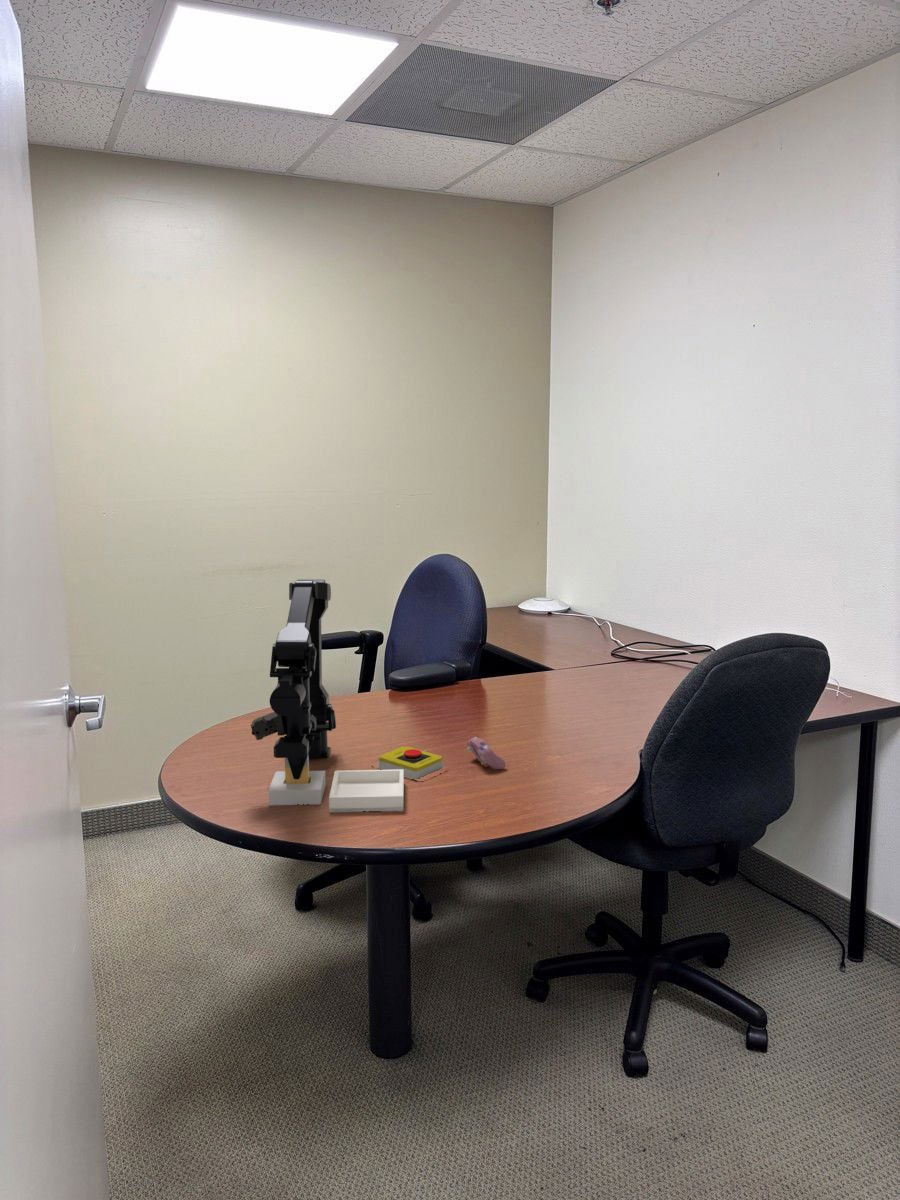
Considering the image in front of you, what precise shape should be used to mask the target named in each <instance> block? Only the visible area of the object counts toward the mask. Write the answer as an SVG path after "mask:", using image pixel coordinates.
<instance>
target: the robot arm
mask: <svg viewBox="0 0 900 1200" xmlns="http://www.w3.org/2000/svg"><path fill="white" fill-rule="evenodd" d="M288 584H289V585H288V600H289V601H290V607H289V611H288V616H287V622H286V627H284V628H283V629H281V630H280V631H279V632H278V633H277V637H276V641H275V643H273V644H272V648H271V657H270V658H271V659H270V670H269V678H277V685H276V686H275V688H274V689H273V691H272V692H271V694H270V696H269V705H270V709H272V710H271V711H273V712H270V713H268V714H264V715H263V716H259V717H256V718H255V719H253V720H252V722H251V724H250V728H251V735H252V736H254V737H255V740H256V741H260V740H261V741H262V740H263V739H264V738H265V737H268V736H270V735H274V734H276V733H277V736H278V737H279V738H278V739H277V740H276V741H275V744H274V746H273V758H276V759H285V758H287V759H288V762H289V765H290V768H291V772H292V775H293V778H294V779H299V778H300V776H301V773H302V770H303V767H304V765H305V762H306V759H307V756H308V754H309V760H314V759H318V760H319V759H324V760H325V759H329V757H330V754H331V750H332V749H331V747H330V746H328V745H329V744H328V732H332V731H333V730H334V729H336V728H337V719H336V712H335V710H334V709H333V704H331V703H330V695H329V693H328V692H327V690H326V688H325V687H324V685H323V681H322V680H323V670H322V669H323V666H322V663H323V662H322V661H323V659H322V652H323V651H322V619H323V617H324V615H325V613H326V611H327V610H328V608H329V601H331V599H332V598H331V597H332V587H331V584H330V583H328V582H326V580H325V579H296V580H295V581H292V582H289V583H288ZM277 666H278V667H277Z"/></svg>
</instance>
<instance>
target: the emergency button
mask: <svg viewBox="0 0 900 1200" xmlns="http://www.w3.org/2000/svg"><path fill="white" fill-rule="evenodd" d="M442 757H443V756H442V755H438V754H435V753H432V752H428V751H424V750H421V749H417V748H414V747H410V746H401V747H399V748H396V749H394V750H391V751H389V752H386V753H383V754H380V755H379V757H378V762H379V766H378V768H380V769H383V770H393V769H404V776H406V777H409V778H413V779H420V778H421V777H424V776H426V775H428V774H431V773H433V772H435V771H438V770H440V769H442V768H443V767H444V766H443V758H442ZM380 769H379V770H380Z"/></svg>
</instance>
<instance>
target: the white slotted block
mask: <svg viewBox="0 0 900 1200" xmlns="http://www.w3.org/2000/svg"><path fill="white" fill-rule="evenodd" d="M309 782H310V783H294V784H286V781H285V770H284V771H275V773H274V775H273V777H272V781H271V783H270V786H269V788H268V790H267V792H268V806H298V805H297V804H299V806H302V805H303V804H304V805H307V804H309V805H322V802H321V801H323V796H324V794H325V793H324V792H325V789H326V770H309ZM294 804H295V805H294ZM304 805H303V806H304Z"/></svg>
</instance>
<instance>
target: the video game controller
mask: <svg viewBox="0 0 900 1200" xmlns="http://www.w3.org/2000/svg"><path fill="white" fill-rule="evenodd" d="M466 743H467V745H468V747H467V749H466V750H467V751H468V752H469V753H470V752H472V753H473V755H474V756H475V758H476V759H477V760H478V762H479V761H480V762H479V763H480V765H482V766H484V767H485V768H487V767H489V766H490V767H492V768H494V769H496V770H500V769H501V770H504V769H505V768H506V761H505V760H504V759H503V758H502V757H500V756H499V755H497V753H495V752H494V751H493V750H492V748H491V747H490V746H489V745H488V743H487V741H486V740H485V739H484V738H479V737H477V736H474V737H472V738H470V739H469V740H467V742H466Z"/></svg>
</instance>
